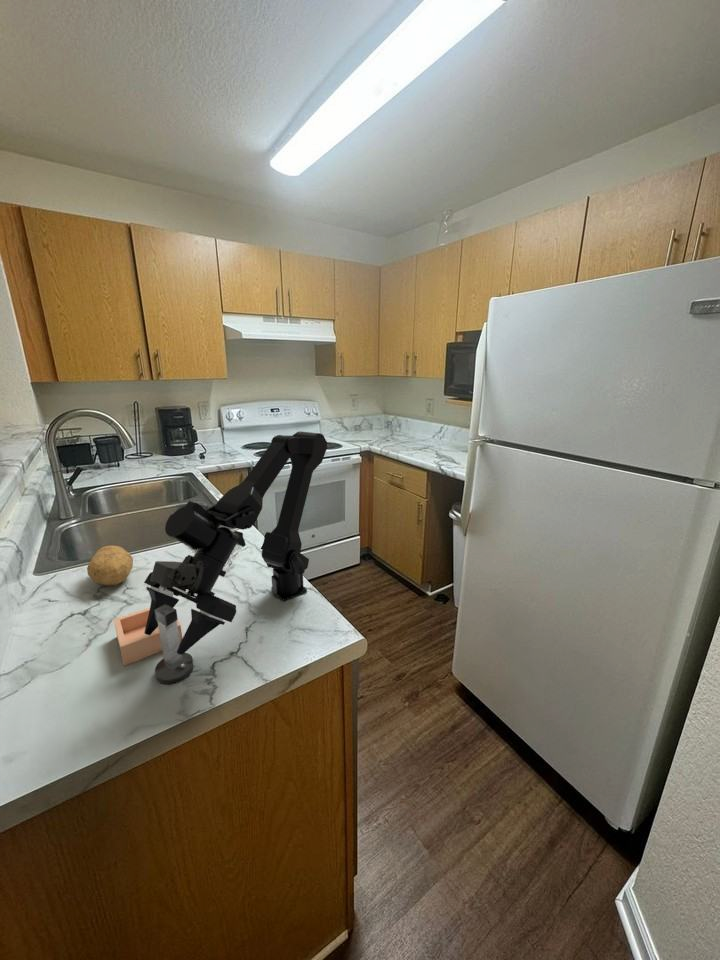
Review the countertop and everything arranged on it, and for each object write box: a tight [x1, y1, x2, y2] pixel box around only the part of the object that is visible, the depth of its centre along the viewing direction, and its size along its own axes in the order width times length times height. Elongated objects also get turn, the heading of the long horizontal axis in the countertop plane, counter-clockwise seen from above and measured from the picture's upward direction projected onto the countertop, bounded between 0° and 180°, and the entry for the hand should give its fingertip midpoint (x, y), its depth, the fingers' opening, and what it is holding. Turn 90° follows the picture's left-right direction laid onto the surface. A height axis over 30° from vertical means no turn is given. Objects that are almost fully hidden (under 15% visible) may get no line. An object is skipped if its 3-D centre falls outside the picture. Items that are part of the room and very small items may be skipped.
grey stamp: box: [154, 604, 195, 686], centre depth 66 cm, size 6×6×12 cm
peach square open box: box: [113, 607, 183, 667], centre depth 75 cm, size 10×10×4 cm
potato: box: [86, 545, 134, 586], centre depth 96 cm, size 10×14×8 cm
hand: (162, 643), depth 65 cm, fingers open, 9 cm apart
